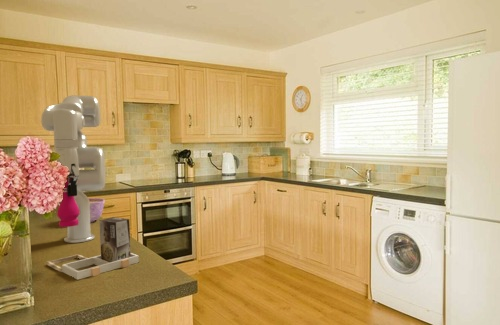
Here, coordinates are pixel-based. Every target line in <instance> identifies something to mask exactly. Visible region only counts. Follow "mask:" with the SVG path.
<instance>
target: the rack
mask: <svg viewBox="0 0 500 325" xmlns="http://www.w3.org/2000/svg"><path fill="white" fill-rule="evenodd" d="M130 254H131V257H129V258H125V259H121V260H118V261H114V262H107V261H105V260H102V259H101V254H100V255H99V254H98V255H96V256H92V257H89V258H88V257H86V258H87V259H83V260H81V259H78V260H74V261H71V262H67V263H63V264H62V265H61V267H62V272H61V273H64V274H66V275H68V276H69V277H71V276H72V277H71V278H73V277H74V279H75V280H82V279H85V278H88V277H96V276H100V275H101V274H103V273H107V272H110V271H113V270H117V269H120V268H122V269H123V268H128V267H130V265H134V264H138V263H139V262H140V256H139V255H138V254H136V253H133V252H130ZM92 265H95V266H92ZM90 266H92V267H90ZM85 267H88V268H85ZM81 268H85V269H81ZM78 269H80V270H78Z"/></svg>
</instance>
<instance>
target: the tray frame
mask: <svg viewBox="0 0 500 325" xmlns="http://www.w3.org/2000/svg"><path fill="white" fill-rule="evenodd" d="M74 258H76V259H78V258H79V259H78V260H83V259H87V258H88V257H86V256H83V255H81V254H74V255H70V256H66V257H61V258H57V259H52V260H47V261H46V265H47V266H48V267H50V268H52V269H54V270H56V271H58V272H60V273H63V272H62V266H60V265H57V264H59V263H63V262H68V261H71V259H72V260H75V259H74Z"/></svg>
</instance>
